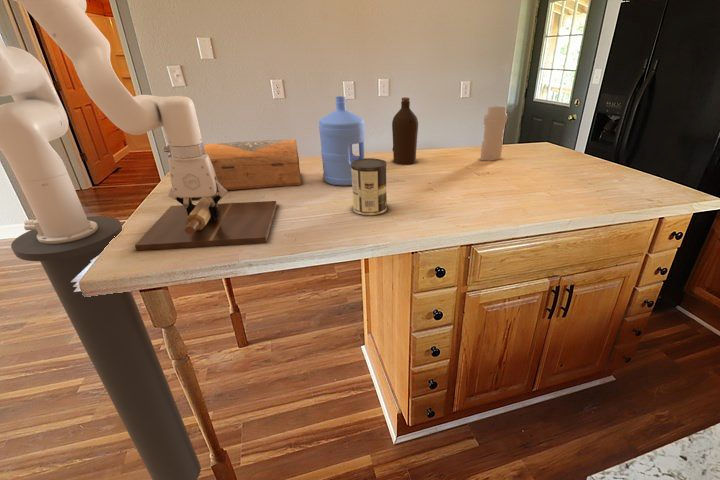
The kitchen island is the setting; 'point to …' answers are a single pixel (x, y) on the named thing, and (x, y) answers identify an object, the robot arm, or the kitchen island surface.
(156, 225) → the pastry board
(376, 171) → the coffee can
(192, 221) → the rolling pin
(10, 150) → the robot arm
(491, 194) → the kitchen island surface
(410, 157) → the olive oil
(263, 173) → the wooden box
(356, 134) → the water jug
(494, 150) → the tall pale column
